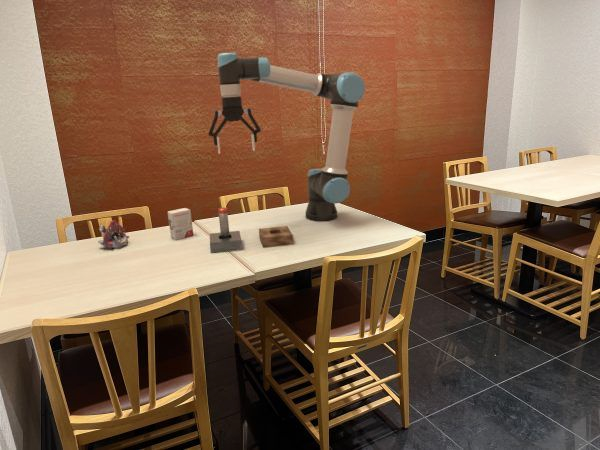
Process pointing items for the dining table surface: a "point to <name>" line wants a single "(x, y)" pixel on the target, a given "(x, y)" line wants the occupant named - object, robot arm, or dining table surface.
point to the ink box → (180, 223)
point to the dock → (225, 242)
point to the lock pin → (224, 223)
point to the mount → (275, 236)
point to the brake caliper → (113, 236)
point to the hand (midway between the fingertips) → (236, 152)
